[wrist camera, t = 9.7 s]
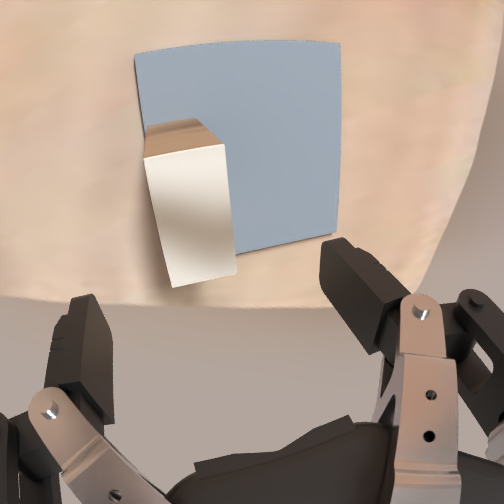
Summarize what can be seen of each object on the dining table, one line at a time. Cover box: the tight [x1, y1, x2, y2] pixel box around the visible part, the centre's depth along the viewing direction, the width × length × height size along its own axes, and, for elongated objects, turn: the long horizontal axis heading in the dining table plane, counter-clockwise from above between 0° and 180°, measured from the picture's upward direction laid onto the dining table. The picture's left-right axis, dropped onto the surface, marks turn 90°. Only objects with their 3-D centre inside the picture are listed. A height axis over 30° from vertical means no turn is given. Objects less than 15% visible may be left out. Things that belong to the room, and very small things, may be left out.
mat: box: [134, 40, 341, 254], centre depth 25 cm, size 18×16×1 cm
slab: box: [144, 118, 237, 288], centre depth 19 cm, size 7×4×10 cm, turn 4°
